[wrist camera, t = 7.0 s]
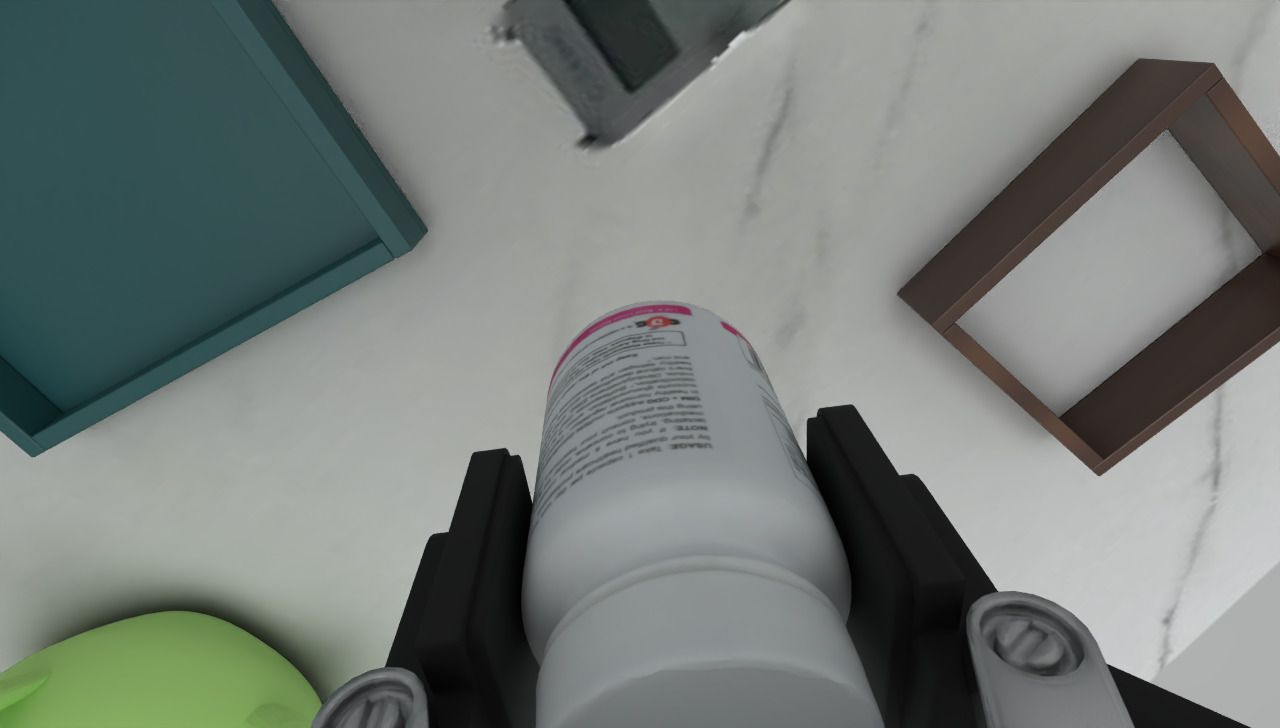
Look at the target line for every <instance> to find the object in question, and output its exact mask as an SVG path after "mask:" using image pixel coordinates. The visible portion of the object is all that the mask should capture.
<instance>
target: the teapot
mask: <svg viewBox="0 0 1280 728" xmlns="http://www.w3.org/2000/svg"><path fill="white" fill-rule="evenodd" d="M321 706H322V703H321V701H320V700H319V698H318V696H317V694H316V693H315V691H314V690H313V688H312V687H311V685H310V684H309V682H308V681H307V680H306V679H305V678H304V676H303V675H302V674H301V673H300V672H299V671H298V670H297V669H296V668H295V667H294V666H293V665H292V664H291V663H290V662H289V661H288V660H286V659H285V658H284V657H283V656H281V655H280V654H279V653H278V652H276V651H275V650H274V649H272V648H271V647H269V646H268V645H266V644H265V643H264V642H262V641H261V640H259V639H257V638H256V637H254V636H253V635H251V634H249V633H248V632H246V631H244V630H243V629H241V628H239V627H237V626H235V625H233V624H231V623H229V622H226V621H224V620H221V619H219V618H216V617H213V616H209V615H205V614H201V613H196V612H189V611H165V612H158V613H151V614H145V615H141V616H137V617H133V618H128V619H124V620H121V621H118V622H114V623H111V624H108V625H105V626H102V627H99V628H95V629H92V630H89V631H87V632H84V633H81V634H79V635H76V636H74V637H71V638H69V639H66V640H64V641H61V642H59V643H56V644H54V645H52V646H49V647H47V648H45V649H43V650H41V651H39V652H37V653H35V654H33V655H31V656H29V657H27V658H25V659H23V660H22V661H20V662H18V663H17V664H15V665H14V666H12V667H11V668H9V669H8V670H6V671H5V672H3V673H2V674H0V728H310V727H311V724H312V721H313V719H314V718H315V716H316V714H317V713H318V711H319V710H320V708H321Z"/></svg>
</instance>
